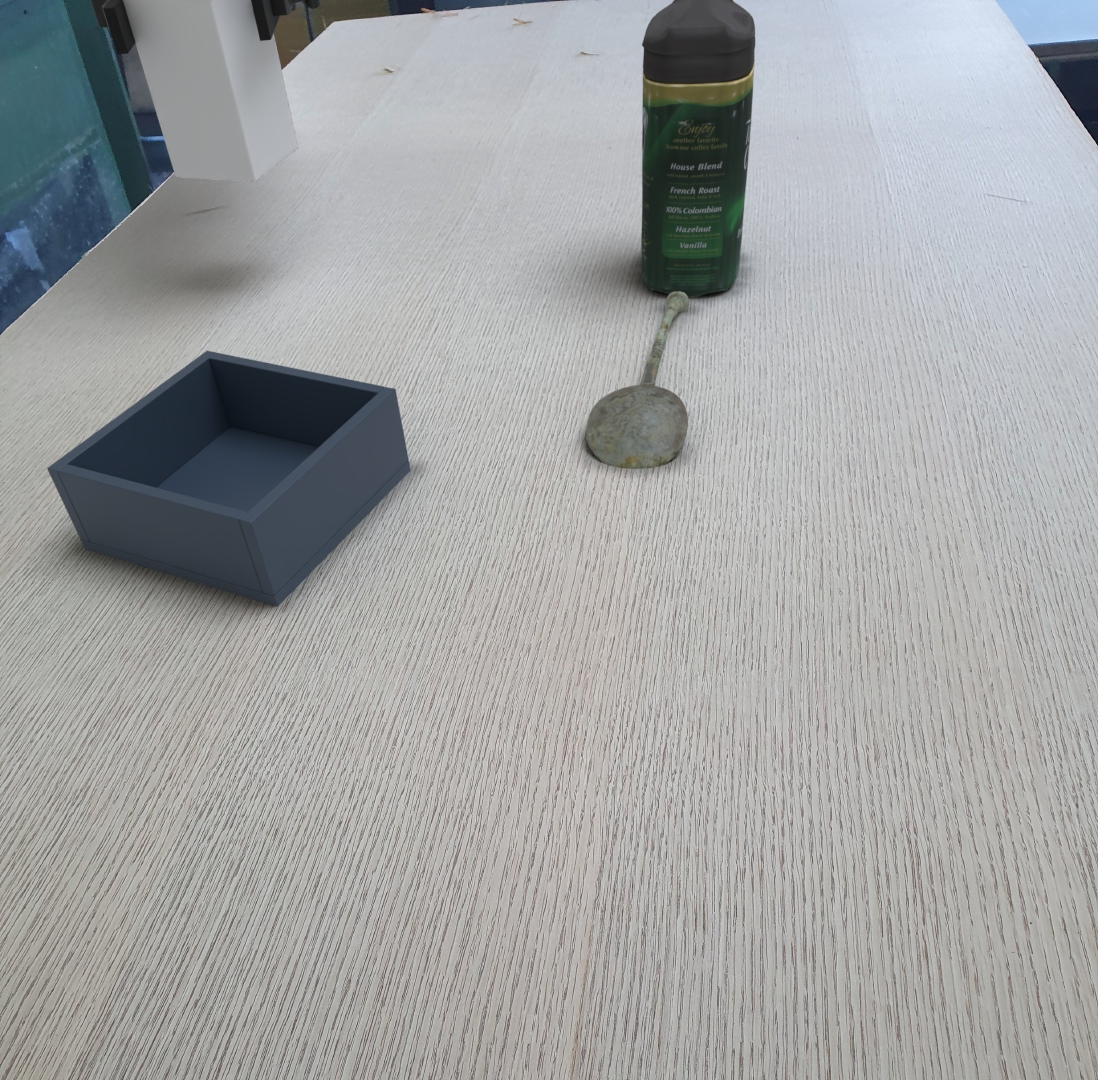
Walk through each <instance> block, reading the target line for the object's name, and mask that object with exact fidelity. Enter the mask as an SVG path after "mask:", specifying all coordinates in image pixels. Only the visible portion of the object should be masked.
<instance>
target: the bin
mask: <svg viewBox="0 0 1098 1080" xmlns="http://www.w3.org/2000/svg"><path fill="white" fill-rule="evenodd" d="M398 400H399V399H398V394H397V390H396V388H393V387H388V386H384V385H380V384H374V383H370V382H364V381H359V380H354V379H349V378H345V377H340V376H336V375H335V376H334V375H330V374H324V373H319V372H315V371H309V370H305V369H300V368H294V367H291V366H290V367H289V366H285V365H281V364H275V363H270V362H265V361H261V360H255V359H250V358H246V357H245V358H244V357H240V356H236V355H231V354H227V353H221V352H216V351H212V350H206V351H204V352H202V354H201V355H199V356H197V358H195V359H193V360H192V361H191V362H189V363H188V364H187V365H185V366H183V368H181V369H180V370H178V371H177V372H175V373H174V374H173V375H172V376H170V377H169V378H168V379H166V380H165V381H163V382H162V383H161V384H160V385H158V386H157V387H155V388H154V389H153V390H151V391H150V392H149V393H147V394H146V395H145V396H143V397H142V398H141V399H139V400H138V401H136V402H135V403H133V404H132V405H131V406H130V407H128V408H127V409H125V410H124V411H123V412H122V413H120V414H118V415H117V416H116V417H114V418H113V419H112V420H110V421H109V422H108V423H106V424H105V425H104V426H102V427H101V428H100V429H98V430H97V431H95V432H94V433H92V434H91V435H90V436H88V437H87V438H86V439H84V440H83V441H82V442H80V443H79V444H78V445H76V446H75V447H74V448H72V449H71V450H69V451H68V452H67V453H66V454H64V455H63V456H61V457H60V458H59V459H57V460H56V461H54V463H52V464H50V465H49V466H47V471H48V473H49V476H50V478H51V480H52V482H53V484H54V486H55V488H56V491H57V493H58V495H59V498H60V499H61V501H62V504H63V505H64V508H65V510H66V512H67V514H68V516H69V518H70V520H71V523H72V525H73V527H74V529H75V531H76V533H77V535H78V537H79V539H80V541H81V544H82V546H83V548H84V550H86V551H89V552H92V553H96V554H99V555H103V556H106V557H109V558H112V559H116V560H119V561H122V562H126V563H130V564H133V565H136V566H139V567H142V568H146V569H149V570H153V571H155V572H160V573H162V574H166V575H168V576H169V575H170V576H173V577H176V578H180V579H183V580H185V581H186V580H187V581H190V582H193V583H195V584H199V585H203V586H206V587H210V588H213V589H215V590H220V591H223V592H226V593H230V594H234V595H236V596H240V597H243V598H247V599H249V600H254V601H256V602H260V603H262V604H263V603H264V604H267V605H269V606H273V607H280V605H281V604H282V603H283V602H284V601H285V600H286V599H287V598H288V597H289V596H290V595H291V594H292V593H293V592H294V591H295V590H296V589H297V588H298V587H299V586H300V585H301V584H302V583H303V582H304V581H305V580H306V579H307V577H309V576H310V575H311V574H312V573H313V571H314V570H315V569H316V568H317V567H318V566H319V565H320V564H321V563H322V562H323V561H324V560H326V558H327V557H328V556H329V555H330V554H332V552H333V551H334V550H335V549H336V548H337V547H338V546H339V545H340V544H341V543H342V541H344V540H345V539H346V537H348V536H349V535H350V534H351V533H352V531H354V529H355V528H356V527H357V526H359V525H360V524H361V522H362V521H363V520H364V519H365V518H367V516H368V515H369V514H370V513H371V512H372V511H373V510H374V509H375V508H376V507H377V506H378V505H379V504H380V503H381V502H382V501H383V499H385V498H386V497H387V495H389V494H390V493H391V492H392V491H393V489H394V488H396V486H397V485H398V484H399V483H400V482H401V481H402V480H404V478H405V477H406V476H407V475H408V474H409V473H410V472H411V471H412V470H411V466H410V465H411V464H410V460H409V455H408V454H409V453H408V449H407V444H406V437H405V432H404V427H403V421H402V416H401V411H400V406H399V405H400V404H399V401H398Z"/></svg>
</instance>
